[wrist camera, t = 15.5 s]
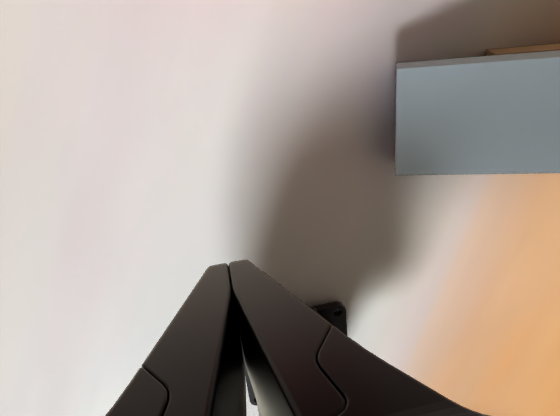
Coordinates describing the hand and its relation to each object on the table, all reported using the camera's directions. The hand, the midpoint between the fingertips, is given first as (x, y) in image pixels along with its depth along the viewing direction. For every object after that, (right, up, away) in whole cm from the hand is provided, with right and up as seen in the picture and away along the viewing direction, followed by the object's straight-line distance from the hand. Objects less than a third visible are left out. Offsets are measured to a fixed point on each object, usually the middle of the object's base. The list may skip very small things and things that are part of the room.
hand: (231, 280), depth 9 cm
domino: (+7, +6, +11) cm, 14 cm away
